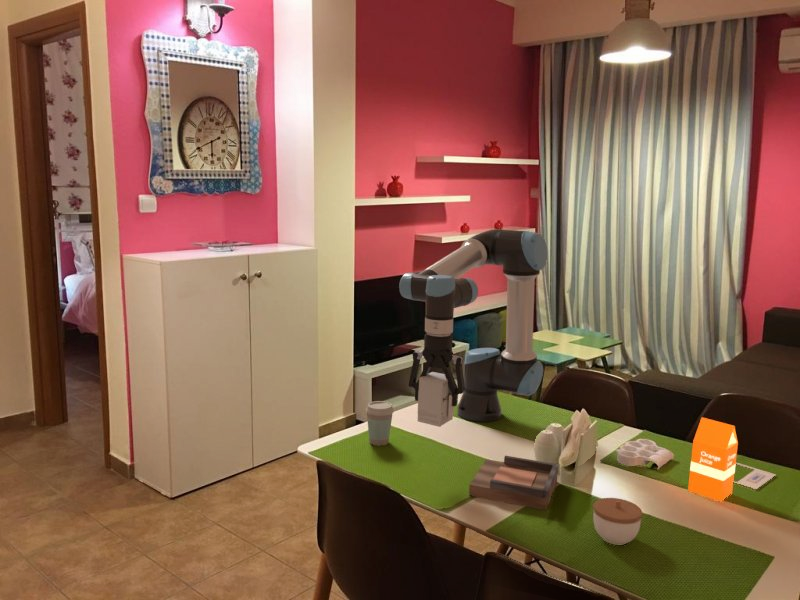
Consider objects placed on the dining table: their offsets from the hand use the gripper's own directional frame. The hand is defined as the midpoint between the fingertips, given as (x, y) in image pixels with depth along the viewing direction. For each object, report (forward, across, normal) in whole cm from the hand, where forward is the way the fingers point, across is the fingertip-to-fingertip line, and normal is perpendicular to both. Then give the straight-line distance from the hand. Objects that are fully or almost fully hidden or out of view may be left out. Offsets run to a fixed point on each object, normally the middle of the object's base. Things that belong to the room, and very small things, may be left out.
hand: (435, 414), depth 194 cm
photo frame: (+18, +78, +36) cm, 88 cm away
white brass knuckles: (+18, +54, +36) cm, 67 cm away
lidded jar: (+17, +50, -17) cm, 55 cm away
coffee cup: (+17, -22, +15) cm, 32 cm away
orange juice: (+17, +72, +19) cm, 76 cm away
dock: (+17, +23, 0) cm, 28 cm away
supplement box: (+2, 0, 0) cm, 2 cm away
